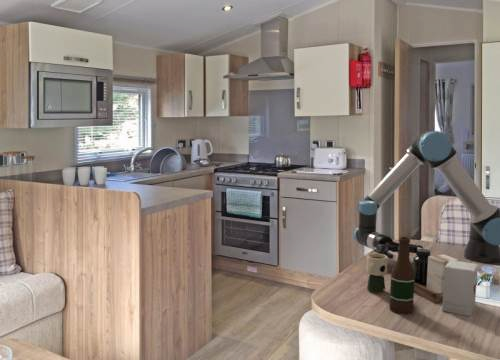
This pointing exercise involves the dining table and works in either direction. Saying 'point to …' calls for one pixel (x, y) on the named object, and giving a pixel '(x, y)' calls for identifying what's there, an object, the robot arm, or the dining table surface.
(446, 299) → the supplement box
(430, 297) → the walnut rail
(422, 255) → the supplement bottle
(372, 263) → the character mug
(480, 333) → the dining table surface
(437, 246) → the dining table surface
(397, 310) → the beer bottle
